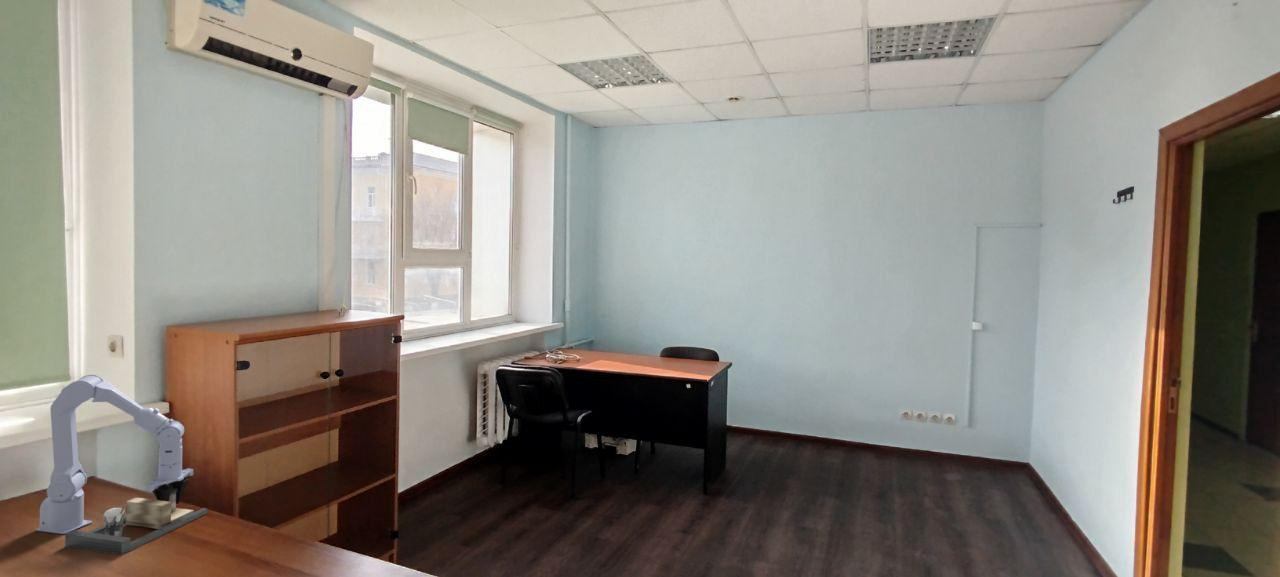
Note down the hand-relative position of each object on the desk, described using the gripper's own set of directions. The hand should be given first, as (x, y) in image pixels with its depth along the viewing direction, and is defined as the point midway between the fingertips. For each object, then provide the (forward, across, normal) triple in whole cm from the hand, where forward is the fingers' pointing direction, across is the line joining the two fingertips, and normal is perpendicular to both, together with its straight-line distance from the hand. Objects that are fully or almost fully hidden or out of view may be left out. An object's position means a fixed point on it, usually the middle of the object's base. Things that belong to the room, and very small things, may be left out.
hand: (169, 505), depth 188 cm
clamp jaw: (+3, -4, 0) cm, 5 cm away
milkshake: (+3, -17, 0) cm, 17 cm away
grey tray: (+3, -10, 0) cm, 10 cm away
